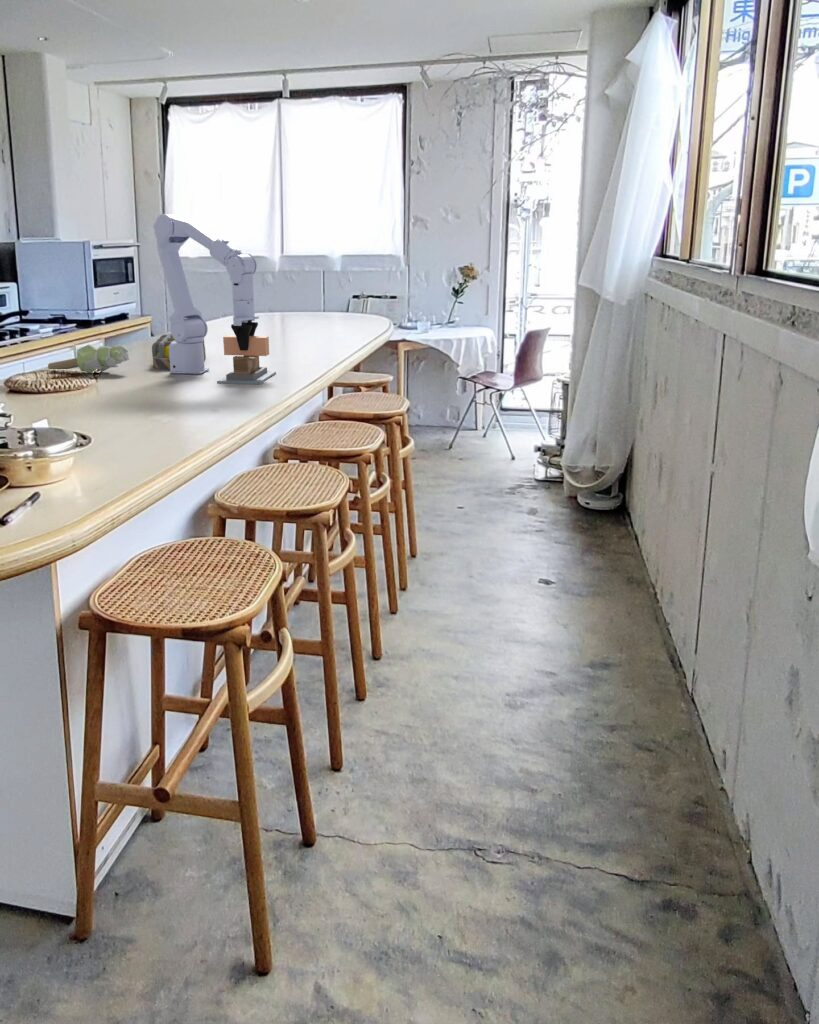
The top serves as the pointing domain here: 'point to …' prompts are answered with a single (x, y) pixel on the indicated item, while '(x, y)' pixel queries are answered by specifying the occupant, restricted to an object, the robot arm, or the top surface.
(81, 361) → the decorative object
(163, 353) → the cage light
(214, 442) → the top surface
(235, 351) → the salmon pink cuboid
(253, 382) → the jig
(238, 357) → the tan notched block
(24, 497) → the top surface
